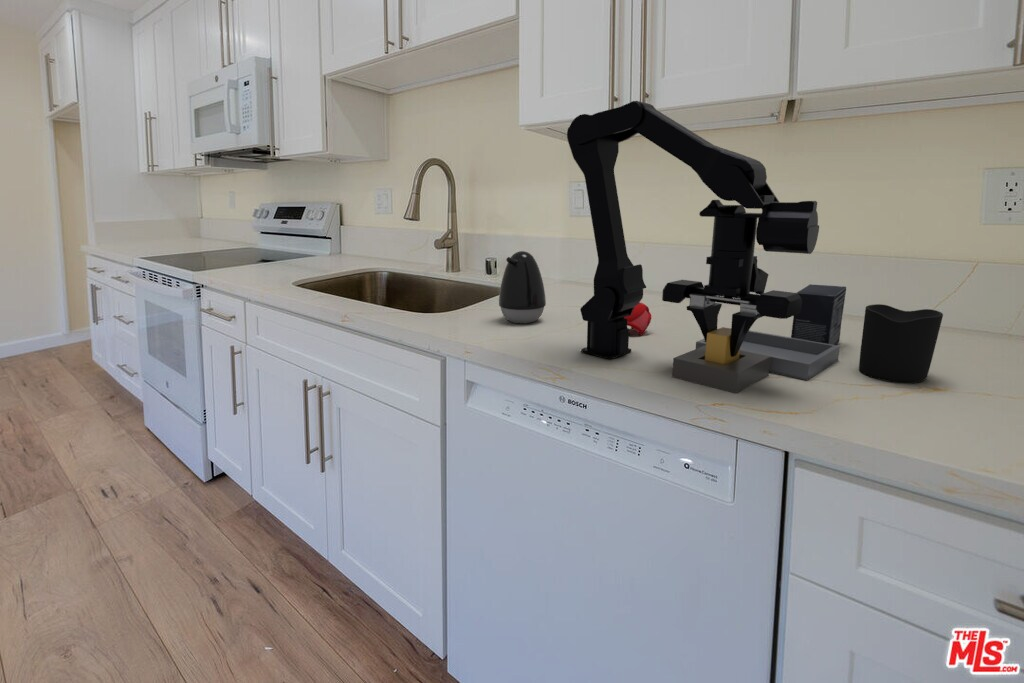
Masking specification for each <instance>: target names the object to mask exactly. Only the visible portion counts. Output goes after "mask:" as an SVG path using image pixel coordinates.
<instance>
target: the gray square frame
mask: <svg viewBox="0 0 1024 683" xmlns="http://www.w3.org/2000/svg"><path fill="white" fill-rule="evenodd" d="M705 352H706V345H705V346H702V347H700V348H697V349H696V348H695V349H692V350H690V351H688V352H685V353H682V354H680V355H677V356H675V357H673V359H672V373H671V374H672V376H671V378H675V379H679V380H683V381H686V382H687V381H688V382H691V383H693V384H694V383H695V384H698V385H703V386H707V387H710V388H714V389H718V390H722V391H726V392H730V393H734V394H737V393H739V392H741V391H743V390H745V389H746V388H749V387H750V386H752V385H754V384H755V383H757V382H759V381H761V380H763V379H764V378H766V377H768V376H769V375H770V372H769V368H770V360H771V356H767V355H762V354H757V353H751V352H746V351H741V350H740V355H739V359H738V360H736V361H734V362H732V363H730V364H728V365H724V364H720V363H715V362H711V361H706V360H705Z"/></svg>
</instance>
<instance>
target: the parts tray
mask: <svg viewBox="0 0 1024 683" xmlns="http://www.w3.org/2000/svg"><path fill="white" fill-rule="evenodd" d="M705 345H706V342H705V339H704V338H703V339H700V340H697V341H696V342H695V349H697V348H700V347H702V346H705ZM840 349H841V345H838V344H837V345H832V344H826V343H820V342H814V341H808V340H803V339H797V338H791V336H785V335H778V334H773V333H766V332H760V331H756V330H755V331H754V330H751V329H749V331H748V333H747V335H746V337H745V339H744V341H743V343H742V345H741V347H740V350H741V351H746V352H751V353H757V354H762V355H767V356H771V360H770V368H769V373H770V374H771V373H772V374H776V375H781V376H785V377H790V378H794V379H797V380H798V379H799V380H803V381H808V380H810V379H812V378H813V377H815V376H816V375H818V374H819V373H821V372H822V371H824V370H825V369H827V368H829V367H830V366H832V365H834V364H835V363H836V362H838V361H839V358H840V356H839V355H840Z"/></svg>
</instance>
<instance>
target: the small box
mask: <svg viewBox="0 0 1024 683" xmlns="http://www.w3.org/2000/svg"><path fill="white" fill-rule="evenodd" d="M846 291H847V287H846V286H841V285H827V284H826V285H825V284H823V285H822V284H808V285H807V286H805V287H803V288H802V289H800V290H798V291H797V292H796V293H798V294H799V295H800V297H801V299H802V306H801V313H799V314H796V315H794V316H792V319H793V320H792V326H791V335H790V337H791V338H797V339H803V340H808V341H814V342H820V343H826V344H832V345H838V344H839V343H840V338H841V329H842V320H843V314H844V306H845V302H846V293H847V292H846Z"/></svg>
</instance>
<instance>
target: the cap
mask: <svg viewBox="0 0 1024 683" xmlns="http://www.w3.org/2000/svg"><path fill="white" fill-rule="evenodd" d="M624 318H625V319H628V323H627V327H630V329H631V330H632V329H634V330H633V331H636V332H638V335H640V336H643V335H644V334H645V332H646V331H647V329H648V327H649V326H650V324H651V321H652V313H651V312H650V308H649V306H648V305H646V304H645V303H643V302H641V301H640V302H639V304H638V305H637V306H635V307H634V310H633V312H632V314H631V316H626V317H624Z"/></svg>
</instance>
